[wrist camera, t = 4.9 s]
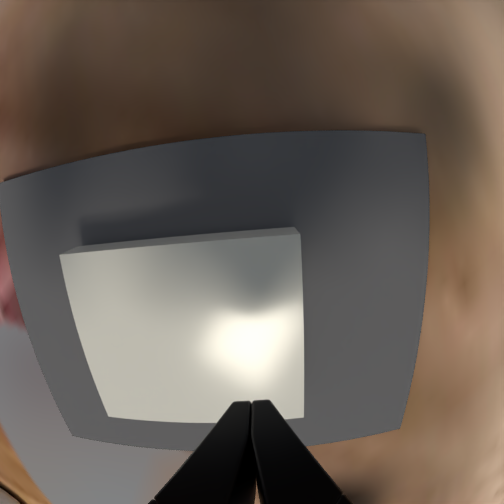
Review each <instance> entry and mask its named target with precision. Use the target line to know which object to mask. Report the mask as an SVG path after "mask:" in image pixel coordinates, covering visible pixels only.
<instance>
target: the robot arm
mask: <svg viewBox="0 0 504 504" xmlns="http://www.w3.org/2000/svg"><path fill="white" fill-rule="evenodd" d="M256 481H257V488H258V494H259V499H260V504H353V503H352V502H351V500H350V499H349V498H348V497H347V496H346V495H343V491H342V490H341V489H340V488H339V487H338V486H337V484H336V483H335V482H334V481H333V480H332V478H331V477H330V476H329V475H328V474H327V472H326V471H325V470H324V469H323V468H322V466H321V465H320V464H319V463H318V461H317V460H316V459H315V458H314V456H313V455H312V454H311V453H310V451H309V450H308V449H307V448H306V446H305V445H304V444H303V443H302V441H301V440H300V439H299V437H298V436H297V435H296V434H295V432H294V431H293V430H292V428H291V427H290V426H289V424H288V423H287V422H286V420H285V419H284V418H283V416H282V415H281V414H280V412H279V411H278V410H277V408H276V407H275V406H274V404H273V403H272V402H271V401H270V400H269V399H264V400H254V401H252V403H251V402H250V401H234V402H232V404H231V405H230V406H229V407H228V409H227V410H226V411H225V413H224V414H223V415H222V417H221V418H220V419H219V420H218V422H217V423H216V424H215V425H214V427H213V428H212V429H211V430H210V432H209V433H208V434H207V436H206V437H205V438H204V439H203V440H202V442H201V443H200V444H199V445H198V447H197V448H196V449H195V450H194V452H193V453H192V454H191V455H190V456H189V458H188V459H187V460H186V461H185V462H184V464H183V465H182V466H181V467H180V468H179V469H178V471H177V472H176V473H175V474H174V475H173V476H172V478H171V479H170V480H169V481H168V482H167V483H166V484H165V486H164V487H163V488H162V489H161V490H160V491H159V492H158V494H157V495H156V496H155V497H154V499H155V500H151V501H150V502H149V503H148V504H254V502H255V494H256Z"/></svg>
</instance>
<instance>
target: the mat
mask: <svg viewBox="0 0 504 504" xmlns="http://www.w3.org/2000/svg"><path fill="white" fill-rule="evenodd" d="M0 209H1V217H2V225H3V231H4V238H5V244H6V249H7V255H8V260H9V265H10V269H11V274H12V278H13V282H14V286H15V290H16V294H17V298H18V302H19V305H20V309H21V312H22V316H23V319H24V322H25V325H26V329H27V332H28V335H29V338H30V341H31V343H32V346H33V349H34V352H35V354H36V357H37V360H38V362H39V365H40V367H41V370H42V372H43V375H44V377H45V380H46V382H47V384H48V387H49V389H50V391H51V393H52V396H53V398H54V400H55V402H56V404H57V406H58V408H59V410H60V412H61V414H62V416H63V418H64V420H65V422H66V424H67V426H68V428H69V430H70V432H71V434H72V436H76V437H80V438H86V439H90V440H96V441H102V442H108V443H114V444H121V445H128V446H136V447H146V448H155V449H169V450H184V451H194V450H195V449H196V448H197V447H198V445H199V444H200V443H201V442H202V440H203V439H204V438H205V437H206V436H207V434H208V433H209V432H210V430H211V429H212V428H213V427H214V425H215V424H216V423H183V422H161V421H146V420H135V419H124V418H116V417H108V414H107V412H106V410H105V407H104V405H103V402H102V400H101V397H100V395H99V392H98V390H97V387H96V385H95V382H94V379H93V376H92V374H91V371H90V368H89V365H88V362H87V359H86V356H85V353H84V350H83V347H82V344H81V341H80V338H79V334H78V331H77V327H76V324H75V320H74V317H73V313H72V309H71V305H70V301H69V297H68V293H67V289H66V285H65V280H64V276H63V271H62V266H61V261H60V256H59V255H60V254H62V253H64V252H67V251H69V250H71V249H74V248H76V247H78V246H86V245H95V244H105V243H114V242H124V241H134V240H145V239H155V238H166V237H177V236H188V235H199V234H210V233H222V232H234V231H247V230H259V229H272V228H286V227H295V228H296V229H297V231H298V232H299V233H300V236H301V257H302V282H303V317H304V418H295V419H285V420H286V422H287V423H288V424H289V426H290V427H291V428H292V430H293V431H294V432H295V434H296V435H297V436H298V437H299V439H300V440H301V441H302V443H303V444H304V445H305V446H311V445H319V444H326V443H332V442H339V441H344V440H350V439H355V438H360V437H365V436H370V435H375V434H379V433H383V432H388V431H392V430H396V429H400V426H401V423H402V419H403V415H404V412H405V408H406V404H407V400H408V396H409V391H410V387H411V382H412V378H413V373H414V368H415V363H416V357H417V352H418V346H419V340H420V333H421V326H422V319H423V311H424V303H425V293H426V282H427V269H428V252H429V175H428V158H427V146H426V135H425V134H422V133H407V132H389V131H351V130H331V131H292V132H273V133H258V134H245V135H233V136H223V137H214V138H205V139H197V140H189V141H182V142H175V143H168V144H161V145H155V146H149V147H143V148H137V149H132V150H127V151H121V152H116V153H111V154H107V155H102V156H97V157H93V158H88V159H84V160H80V161H75V162H71V163H67V164H63V165H59V166H56V167H52V168H48V169H45V170H41V171H37V172H34V173H30V174H27V175H24V176H20V177H17V178H14V179H11V180H8V181H5V182H2V183H0Z"/></svg>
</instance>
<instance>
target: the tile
mask: <svg viewBox="0 0 504 504" xmlns="http://www.w3.org/2000/svg"><path fill="white" fill-rule="evenodd" d="M59 256H60V261H61V266H62V271H63V276H64V280H65V285H66V289H67V293H68V297H69V301H70V305H71V309H72V313H73V317H74V320H75V324H76V327H77V331H78V334H79V338H80V341H81V344H82V347H83V350H84V353H85V356H86V359H87V362H88V365H89V368H90V371H91V374H92V376H93V379H94V382H95V385H96V387H97V390H98V392H99V395H100V397H101V400H102V402H103V405H104V407H105V410H106V412H107V414H108V417H116V418H124V419H135V420H146V421H161V422H183V423H217V422H218V420H219V419H220V418H221V417H222V415H223V414H224V413H225V411H226V410H227V409H228V407H229V406H230V405H231V404H232V402H234V401H250V402H251V403H252V401H254V400H264V399H269V400H270V401H271V402H272V403H273V404H274V406H275V407H276V408H277V410H278V411H279V412H280V414H281V415H282V416H283V418H284V419H295V418H304V317H303V282H302V257H301V236H300V233H299V232H298V231H297V229H296V228H295V227H286V228H272V229H259V230H247V231H234V232H222V233H210V234H199V235H188V236H177V237H166V238H155V239H145V240H134V241H124V242H114V243H105V244H95V245H86V246H78V247H76V248H74V249H71V250H69V251H67V252H64V253H62V254H60V255H59Z"/></svg>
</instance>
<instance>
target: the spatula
mask: <svg viewBox="0 0 504 504" xmlns="http://www.w3.org/2000/svg"><path fill="white" fill-rule="evenodd" d="M0 504H20V503H19V502H18V501H17V500H16V499H15V498H13V497H12V496H11V495H10V494H8V493H7V492H6V491H4V490H3V489H1V488H0Z"/></svg>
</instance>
